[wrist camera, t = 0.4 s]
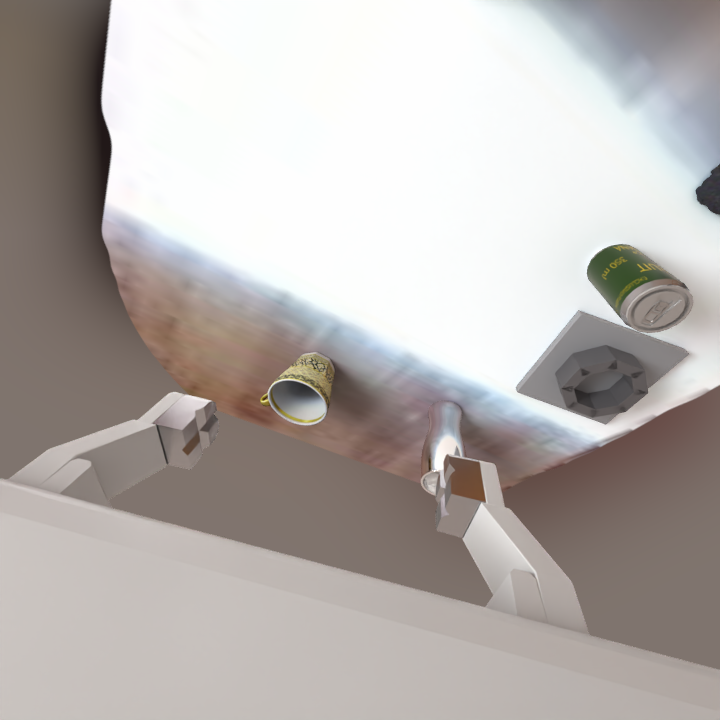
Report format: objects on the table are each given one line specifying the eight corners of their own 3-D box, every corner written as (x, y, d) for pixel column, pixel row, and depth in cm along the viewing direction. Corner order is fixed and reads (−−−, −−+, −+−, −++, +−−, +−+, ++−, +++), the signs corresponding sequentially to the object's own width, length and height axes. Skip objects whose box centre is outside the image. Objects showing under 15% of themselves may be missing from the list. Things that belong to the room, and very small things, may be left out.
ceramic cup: (332, 339, 56) (312, 375, 48) (350, 384, 61) (336, 423, 53) (268, 350, 61) (241, 385, 53) (291, 391, 66) (269, 428, 58)
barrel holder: (578, 310, 44) (590, 328, 41) (683, 348, 44) (705, 370, 41) (515, 387, 54) (520, 407, 50) (603, 419, 54) (614, 441, 50)
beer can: (616, 290, 42) (664, 341, 33) (575, 278, 42) (611, 324, 33) (649, 250, 39) (712, 293, 29) (604, 236, 39) (653, 275, 29)
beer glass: (417, 409, 61) (409, 479, 49) (447, 392, 57) (446, 463, 46) (442, 431, 63) (440, 503, 51) (473, 415, 59) (478, 490, 47)
